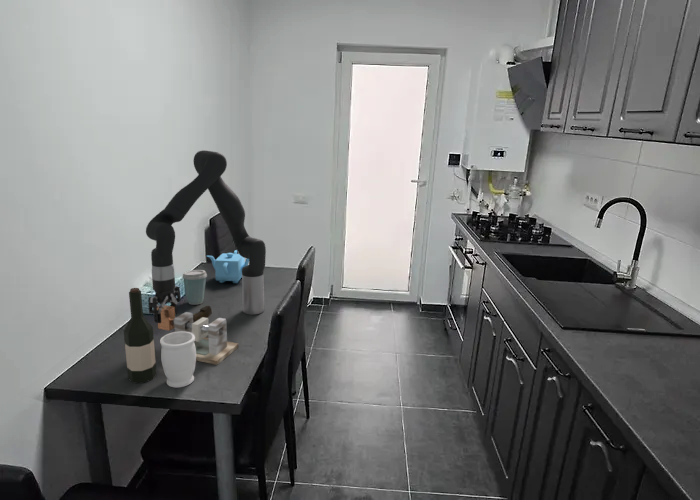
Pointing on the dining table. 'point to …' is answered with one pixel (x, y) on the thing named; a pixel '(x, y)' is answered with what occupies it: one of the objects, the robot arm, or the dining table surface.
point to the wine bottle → (139, 342)
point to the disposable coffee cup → (195, 286)
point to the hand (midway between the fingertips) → (166, 318)
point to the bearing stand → (209, 339)
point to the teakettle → (229, 267)
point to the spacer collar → (199, 328)
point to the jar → (178, 358)
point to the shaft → (169, 316)
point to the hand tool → (202, 313)
